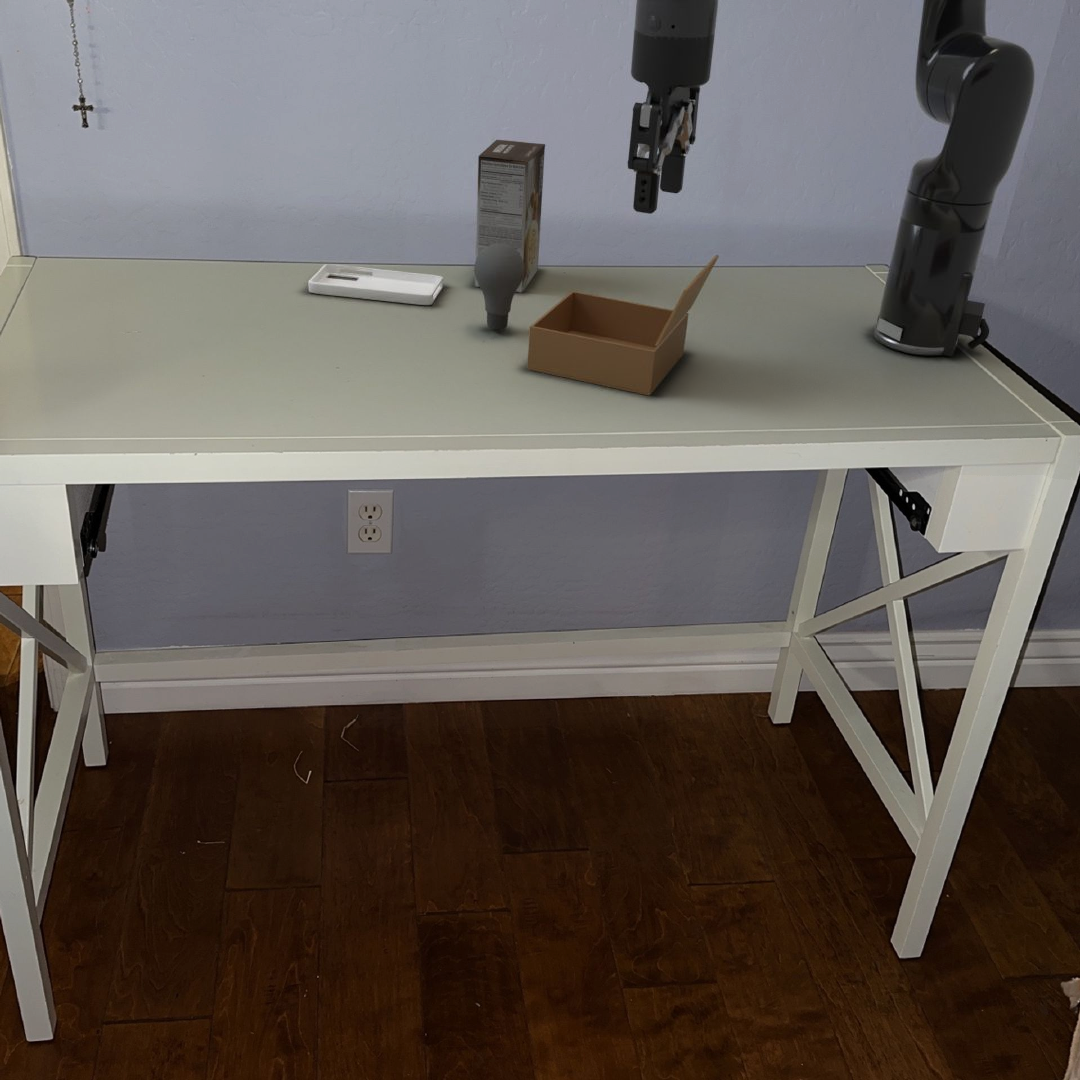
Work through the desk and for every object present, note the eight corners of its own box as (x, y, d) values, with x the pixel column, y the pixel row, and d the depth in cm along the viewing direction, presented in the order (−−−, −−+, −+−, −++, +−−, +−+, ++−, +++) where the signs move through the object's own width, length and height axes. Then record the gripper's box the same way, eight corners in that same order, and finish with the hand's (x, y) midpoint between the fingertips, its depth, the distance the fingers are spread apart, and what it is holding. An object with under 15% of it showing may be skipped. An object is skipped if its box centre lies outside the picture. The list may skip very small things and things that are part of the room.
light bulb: (492, 344, 128) (495, 255, 123) (462, 328, 132) (464, 241, 127) (531, 334, 131) (536, 247, 126) (501, 319, 135) (505, 234, 130)
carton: (683, 354, 129) (688, 313, 127) (649, 395, 119) (655, 352, 117) (569, 331, 133) (572, 290, 131) (527, 369, 123) (529, 326, 120)
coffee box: (490, 264, 151) (495, 137, 143) (538, 270, 150) (546, 143, 142) (473, 287, 144) (477, 154, 135) (523, 293, 143) (531, 160, 134)
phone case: (307, 293, 138) (430, 306, 137) (306, 282, 138) (430, 295, 136) (325, 273, 145) (443, 286, 143) (325, 263, 144) (444, 275, 143)
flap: (688, 307, 126) (690, 308, 126) (654, 345, 116) (657, 346, 116) (716, 254, 122) (719, 255, 122) (684, 289, 112) (687, 290, 112)
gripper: (691, 41, 102) (672, 225, 110) (733, 22, 113) (713, 190, 122) (611, 32, 104) (598, 213, 113) (659, 14, 115) (645, 180, 124)
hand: (658, 201), depth 117 cm, fingers open, 8 cm apart
